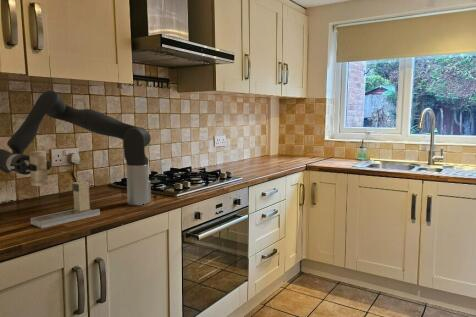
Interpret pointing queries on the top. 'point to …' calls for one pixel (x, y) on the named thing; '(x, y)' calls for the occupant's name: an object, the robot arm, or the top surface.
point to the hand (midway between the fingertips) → (42, 167)
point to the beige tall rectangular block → (39, 168)
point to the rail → (77, 213)
